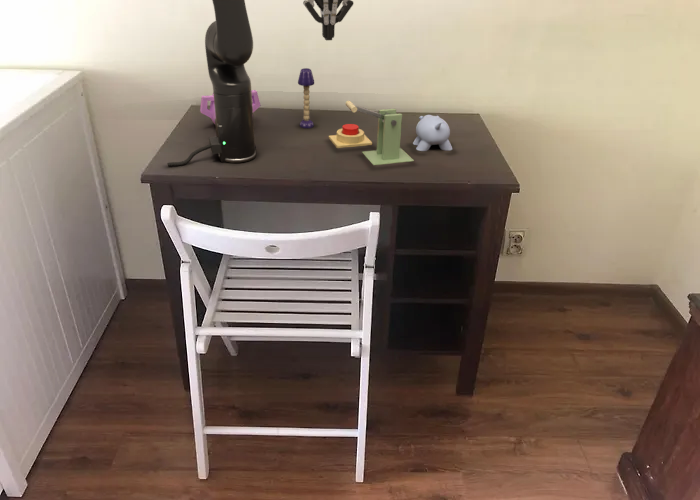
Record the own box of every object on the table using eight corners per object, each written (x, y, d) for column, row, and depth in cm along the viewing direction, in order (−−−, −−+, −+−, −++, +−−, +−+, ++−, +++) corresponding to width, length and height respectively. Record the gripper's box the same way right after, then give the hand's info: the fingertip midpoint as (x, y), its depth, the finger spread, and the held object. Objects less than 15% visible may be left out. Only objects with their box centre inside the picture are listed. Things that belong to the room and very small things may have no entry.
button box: (336, 151, 159) (337, 138, 158) (328, 141, 166) (328, 128, 164) (372, 148, 162) (372, 135, 160) (362, 138, 169) (363, 125, 167)
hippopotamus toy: (442, 136, 171) (446, 104, 166) (457, 156, 158) (461, 121, 153) (405, 137, 170) (408, 104, 165) (417, 157, 157) (420, 122, 152)
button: (345, 136, 160) (345, 129, 159) (340, 131, 164) (340, 124, 163) (360, 135, 161) (360, 128, 160) (355, 130, 165) (355, 123, 164)
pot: (194, 121, 177) (190, 81, 171) (250, 113, 184) (248, 75, 178) (211, 141, 164) (207, 99, 158) (271, 132, 171) (269, 91, 165)
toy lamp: (317, 127, 175) (317, 70, 166) (303, 130, 173) (303, 72, 164) (309, 122, 178) (308, 66, 170) (295, 125, 176) (294, 68, 168)
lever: (350, 113, 143) (353, 104, 142) (343, 107, 147) (347, 98, 146) (396, 128, 148) (400, 119, 148) (389, 122, 153) (392, 113, 152)
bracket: (373, 169, 150) (375, 119, 143) (361, 155, 157) (363, 108, 151) (413, 164, 153) (417, 116, 146) (400, 152, 160) (403, 105, 154)
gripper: (350, -37, 149) (348, 35, 158) (298, -37, 145) (299, 37, 154) (359, -34, 143) (357, 41, 152) (305, -33, 139) (306, 44, 148)
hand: (328, 39), depth 153 cm, fingers closed
